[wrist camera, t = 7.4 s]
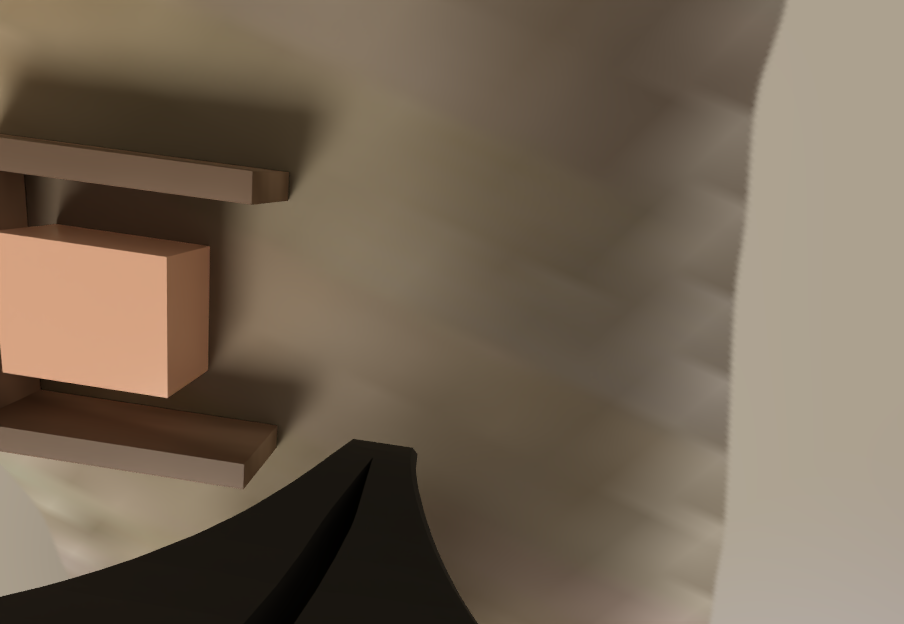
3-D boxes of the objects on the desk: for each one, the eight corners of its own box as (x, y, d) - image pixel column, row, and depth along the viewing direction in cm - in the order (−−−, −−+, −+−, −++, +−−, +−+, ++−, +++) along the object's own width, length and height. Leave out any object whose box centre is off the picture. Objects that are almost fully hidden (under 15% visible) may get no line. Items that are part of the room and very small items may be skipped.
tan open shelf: (276, 447, 22) (243, 489, 19) (19, 408, 22) (-52, 442, 19) (288, 172, 19) (252, 171, 16) (-6, 133, 19) (-94, 125, 16)
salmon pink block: (211, 367, 21) (167, 398, 18) (68, 346, 22) (3, 372, 19) (213, 245, 20) (166, 256, 17) (61, 223, 20) (-11, 231, 17)
